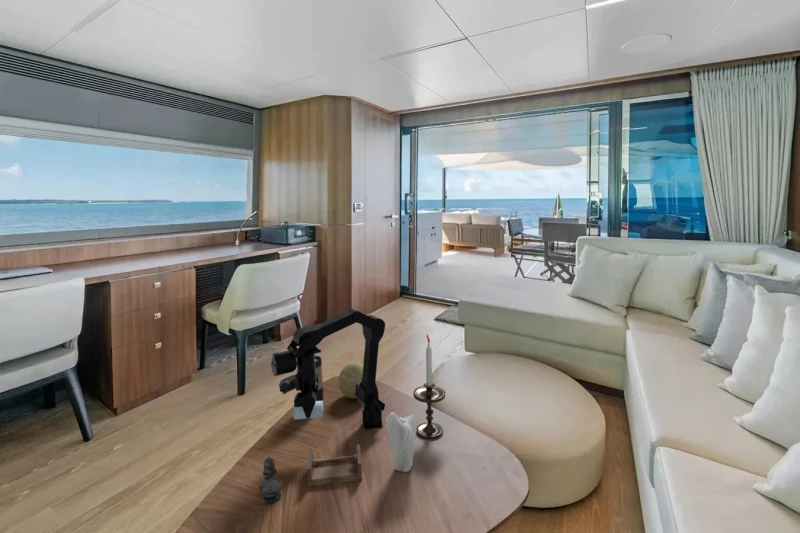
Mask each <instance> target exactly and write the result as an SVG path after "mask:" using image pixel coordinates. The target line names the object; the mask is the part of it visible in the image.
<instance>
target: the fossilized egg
mask: <svg viewBox="0 0 800 533" xmlns="http://www.w3.org/2000/svg"><path fill="white" fill-rule="evenodd" d="M362 375H363V365H362V364H361V363H359V362H357V361H351V362H348V363H346V364H345V366H344V367H342V370H340V372H339V376H338V378H337V379H338V383H337V384H338V389H339V390H340V392H341V394H342V395H343V396H344V397H346V398H348V399H352V400H353V399H356V396H355V395H354V394H355V391H356V384H360V382H361V381H362ZM356 400H357V399H356Z"/></svg>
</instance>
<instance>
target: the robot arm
mask: <svg viewBox="0 0 800 533" xmlns="http://www.w3.org/2000/svg"><path fill="white" fill-rule="evenodd" d="M354 324H359V325H361V326H362V327H361V330H362V334H363V337H364V341H365V343H364V354H363V365H362V366H363V375H362V381H361V382H360V384H356V391H355V394H354V395H355V396H356V400H357V401H358V402H359V403H360V405H361V406H363V410H361V416H362V417H361V418H362V425H363V427H364V428H363V429H375V428H383V427H384V426H383V418H382V417H383V416H382V413H383V411H384V410H385V407H386V403H384V402H383V401H382V400H380V398H379V388H378V385H377V382H376V378H377V370H378V369H377V367H378V357H379V348H380V347H379V346H380V342H381V340H382V338H383V337H384V334H385V329H386V321H384V319H382V318H380V317H377V316H375V315H373V314H368V315H367V314H365V313H362V311H360V310H358V309H355V308H352V309H349V310H348V311H346V312H345V313H342V314H340V315H337V316H335V317H333V318H331V319H328V320H326V321H324V322H321V323H319V324H314V325H306V326H303V327H299V328H298V329H296V330H295V331H294V333H293V336H292V339H291V341H290V342H289V343H288V346H287V348H286V351H285V350H284V351H281V352H273V353H272V358H271V361H270V367H271V371H272V374H273V376H274V377H277V376H283V375H286V374H289V373H293V372H294V371H296V373H295V374H291V375H290V376H287V377H285V378H283V379H281V380H280V382H279V383H278V387H279V392H281V393H282V395H285V394H287V393H289V392H291V391H293V390H295V391H297V393H296V394H295V395H294V399H293V407H302V408H303V410H304V413H305V416H306V418H307V419H311V418H310V416H311V413H312V410H313V408H314V405H315V403H316V393H317V390H318V385H317V383H319V375H318V374H317V373H316V367H315V356H316V354H319V353H320V354H321V353H322V350H321V349H320V348H318V345H319V344H320V343H321V342H322V341H323V340H324V339H325V338H326V337H329V336H330V335H333V334H335V333H337V332H339V331H341V330H344V329H345V328H348V327H350V326H352V325H354ZM298 391H300V392H298Z"/></svg>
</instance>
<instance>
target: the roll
mask: <svg viewBox="0 0 800 533" xmlns="http://www.w3.org/2000/svg"><path fill="white" fill-rule="evenodd" d="M292 410H293V411H292V412H293V413H292V414H293V415H292V416H293V420H303V419H308V418H306V416H305V413H304V410H303V408H302V407H294V406H293V407H292ZM316 418H324V400H323V401H316V403H315V405H314V408H313V410H312V413H311V416H310V418H309V419H316Z"/></svg>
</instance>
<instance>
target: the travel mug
mask: <svg viewBox="0 0 800 533" xmlns="http://www.w3.org/2000/svg"><path fill="white" fill-rule="evenodd" d="M315 367H316V373H317V374H318V375H319V383H317V385H318V390H317V393H316V401H323V402H324V381H323V380H324V379H323V362H322V357H321V356H318V355H315Z"/></svg>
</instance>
